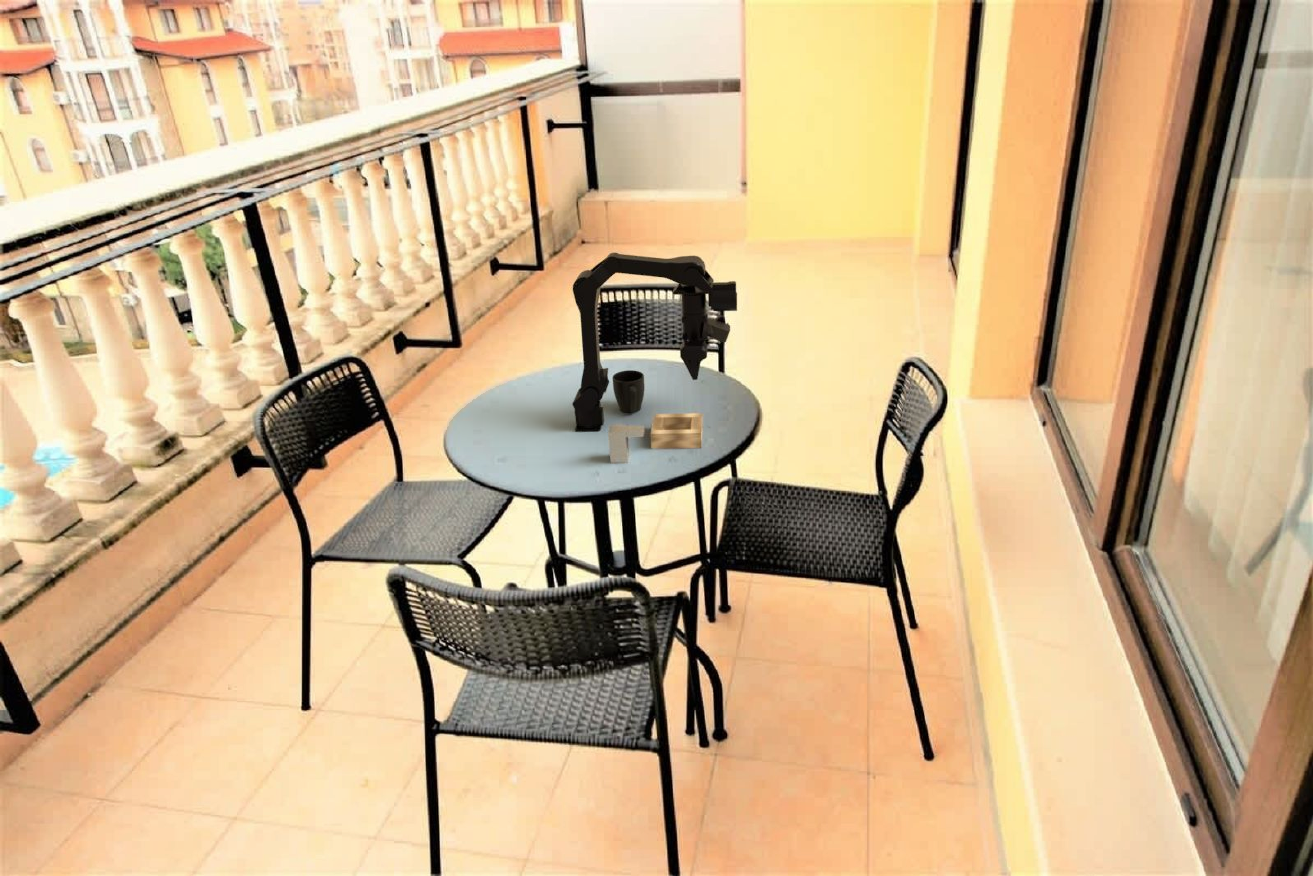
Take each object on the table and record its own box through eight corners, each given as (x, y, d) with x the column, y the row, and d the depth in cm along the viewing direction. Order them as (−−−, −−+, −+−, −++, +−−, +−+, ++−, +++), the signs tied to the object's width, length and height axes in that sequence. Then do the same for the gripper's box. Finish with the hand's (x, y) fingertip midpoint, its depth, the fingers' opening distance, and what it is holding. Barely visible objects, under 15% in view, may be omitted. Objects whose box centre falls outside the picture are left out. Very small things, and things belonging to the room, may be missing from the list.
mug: (618, 423, 215) (615, 389, 211) (613, 404, 226) (610, 371, 222) (650, 419, 216) (648, 385, 212) (643, 401, 227) (641, 368, 223)
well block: (651, 448, 202) (650, 433, 200) (654, 428, 212) (654, 414, 210) (701, 448, 201) (700, 433, 199) (702, 427, 211) (702, 413, 209)
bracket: (610, 463, 197) (608, 432, 193) (612, 455, 200) (610, 424, 196) (644, 462, 196) (642, 432, 192) (646, 454, 199) (644, 424, 196)
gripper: (728, 323, 190) (728, 386, 197) (727, 298, 206) (728, 357, 213) (679, 324, 190) (681, 387, 197) (682, 299, 207) (684, 358, 214)
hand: (695, 372), depth 206 cm, fingers open, 9 cm apart
